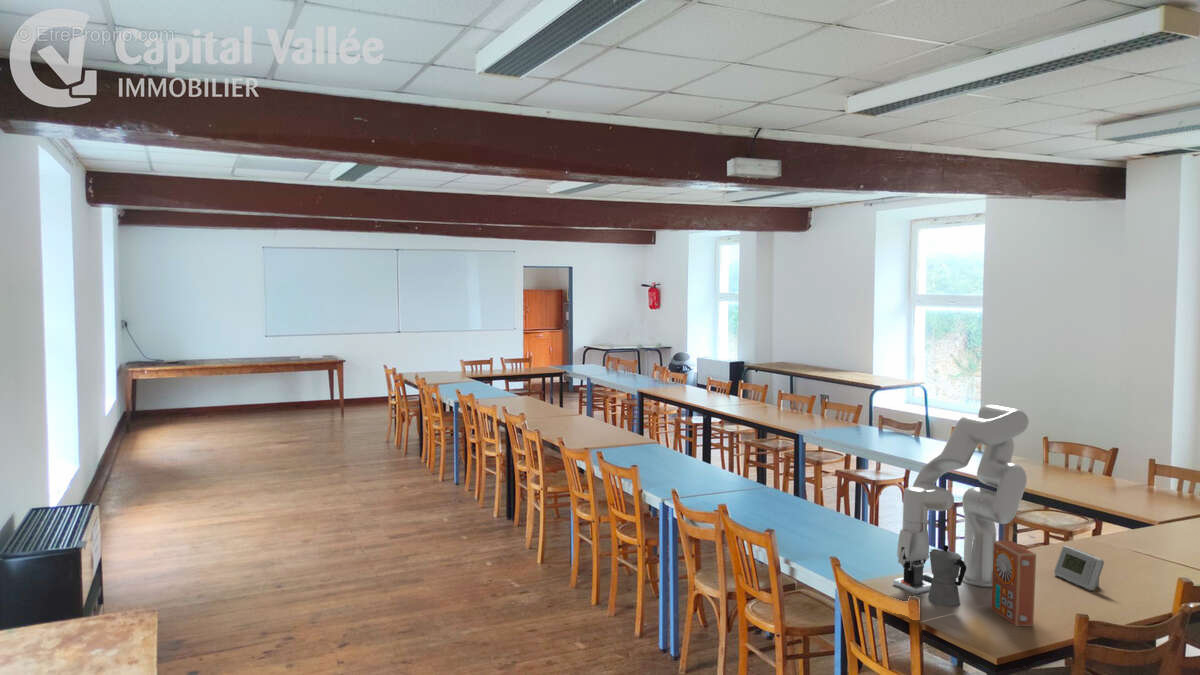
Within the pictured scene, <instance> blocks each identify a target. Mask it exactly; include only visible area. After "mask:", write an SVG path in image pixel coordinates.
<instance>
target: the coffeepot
mask: <svg viewBox="0 0 1200 675" xmlns="http://www.w3.org/2000/svg"><path fill="white" fill-rule="evenodd" d="M942 547H943V550H942V549H937V548H936V549H935V548H933V549H930V548H929V561H930V568H931V574H932V575H933V579H932V582H931V587H930V591H928V592H929V593H928V595H927V598H928V600H929V601H930V602H931V603H933V604H936V605H938V606H942V607H957V606H959V605H961V600H960V593H959V588H958V587H960V586H962V583H963V578H964V574H965V572H966V565H965V563H964V560H963V557H962V556H961V555H960V554H959V553H957V552H954V551H950V550H949V548H950V546H949V545H947V544H943V545H942ZM959 573H960V574H959ZM958 575H959V576H958Z"/></svg>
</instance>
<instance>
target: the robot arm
mask: <svg viewBox="0 0 1200 675" xmlns="http://www.w3.org/2000/svg"><path fill="white" fill-rule="evenodd" d="M1028 426H1029V418H1028V415H1027V414H1026V412H1024V411H1023V410H1021V409H1019V408H1014V407H1008V406H1002V405H998V404H985V405H982V406H981V407H980V409H979V411H978V417H977V416H969V415H968V416H963V417H961V418H960V419H959V420H958V421H957V423H956V425H955V427H954V429H953V430H952V432H951V434H950V437H949V439H948V440H947V442H946V445H944V448H943V450H942V452H941V453H940V454H939V455H937V456H936V457H935V458H933V459H931V461H929V462H928V463H926V464H925V465H924V466H923V467H922V468H921V470H920V471H919V473H917V476H916V477H915V478H916V479H915V480H914V482H913V484H912V486H907V487H905V488H904V490H903V495H902V496H903V498H902V501H903V502H902V527H901V529H900V532H899V535H898V541H897V542H898V543H897V552H896V553H897V554H896V555H897V558H898V559H897V563H898V564H900V565H901V566H902V568H903V577H904V580H906V581H908V582H911V583H912V582H913V573H914V571H913V570H912V568H913V561H918V562H921V563H923V569H924V568H925V566H924V565H925V563H926V561H928V559H929V560H930V553H929V552H930V540H929V529H928V520H929V519H928V517H929V515H928V514H929V511H936V512H946V511H948V510H950V509H951V508H953V505H954V504H955V503H954V502H955V497H954V495H953V493H951V491H950V490H948V489H946V488H944V487H941V486H938V485H935V484H936V483H937V481H938V480H939V479H940V478H941V477H942V476H943V475H945V474H946V473H949V472H952V471H956V470H960V469H963V468H966V467H967V466H968V465H969V462H970V461H971V458H972V457H973V456H974V453H975V450H976V448H977V447H978V445H983V446H984V450H983V453H982V455H981V458H980V461H979V464H978V468H977V472H976V477H977V480H978V481H979V482H980V483H982V484H984V485H986V486H990V487H993V488H995V489H997V490H996V491H993V490H990V489H987V488H983V487H979V486H977V487H976V486H975V487H974V486H973V487H970V488H968V489H967V490H965V492H964V494H963V496H962V508H963V514H964V540H963V541H964V542H963V561H964V563H965V565H966V572H965V574H964V578H963V581H962V583H963V582H964V583H966V584H968V585H972V586H976V587H981V588H982V587H983V588H992V575H993V549H994V548H993V547H994V541H997V528H996V524H1000V525H1006V524H1009V523H1011V522H1012V521H1013V520H1014V519H1015V517H1016V515H1017V513H1018V510H1019V508H1020V504H1021V502H1022V498H1023V495H1024V494H1025V490H1026V487H1027V483H1028V482H1027V481H1028V479H1027V473H1026V471H1025V469H1024V468H1023V467H1022V466H1021V465H1020V464H1017V463H1014V462H1012V457H1013V455H1014V450H1015V443H1014V438H1015V437H1018V436H1020V435H1021V434H1023V433H1024V432H1025V431H1026V430H1027V429H1028ZM907 562H909V564H908V563H907ZM904 569H905V570H904ZM959 574H960V572H959ZM958 576H959V575H958Z"/></svg>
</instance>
